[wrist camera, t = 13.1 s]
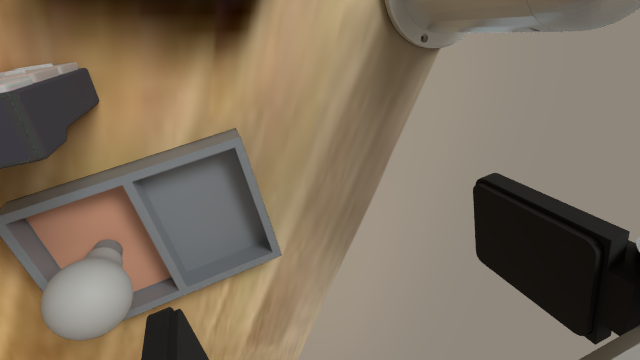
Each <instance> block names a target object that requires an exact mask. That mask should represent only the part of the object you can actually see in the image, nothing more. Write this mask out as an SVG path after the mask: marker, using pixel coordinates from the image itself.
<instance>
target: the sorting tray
mask: <svg viewBox="0 0 640 360" xmlns="http://www.w3.org/2000/svg"><path fill="white" fill-rule="evenodd" d="M0 237H1V238H2V239H3V240H4V242H5V243H6V244H7V246H8V247H9V248H10V250H11V251H12V252H13V254H14V255H15V256H16V257H17V259H18V260H19V261H20V263H21V264H22V265H23V267H24V268H25V269H26V271H27V272H28V273H29V274H30V276H31V277H32V278H33V280H34V281H35V282H36V284H37V285H38V286H39V288H40V289H41V290H42V292H43V291H44V289H45V287H46V286H47V284H48V282H49V281H50V279H51V278H52V277H53V276H54V275H55V274H56V273H58V272H59V271H60V270H61V269H63V268H64V267H65V266H67V265H69V264H72V263H74V262H77V261H79V260H83V259H84V258H85V256H86V255H87V254H88V253H89V252H90V251H92V249H93V247H94V246H95V245H96V244H97V243H98V242H99V241H101V240H105V239H111V240H115V241H117V242H118V243H120V244H121V246H122V248H123V253H122V260H123V265H122V268H123V269H124V270H125V271H126V273H127V274H128V275H129V277H130V279H131V281H132V286H133V300H132V304H131V307H130V309H129V311H128V312H127V314H126V316H125V317H124V319H123V320H126V319H128V318H130V317H133V316H135V315H138V314H140V313H143V312H145V311H147V310H150V309H152V308H155V307H157V306H160V305H162V304H164V303H167V302H169V301H172V300H174V299H177V298H179V297H182V296H184V295H186V294H189V293H191V292H194V291H196V290H199V289H201V288H203V287H206V286H208V285H211V284H213V283H216V282H218V281H220V280H223V279H225V278H228V277H230V276H233V275H235V274H238V273H240V272H242V271H245V270H247V269H250V268H252V267H255V266H257V265H259V264H262V263H264V262H267V261H269V260H272V259H274V258H277V257H279V256H281V255H282V254H281V251H280V249H279V246H278V243H277V240H276V237H275V234H274V231H273V229H272V226H271V223H270V220H269V217H268V214H267V211H266V209H265V206H264V203H263V200H262V197H261V194H260V191H259V189H258V186H257V183H256V180H255V177H254V174H253V171H252V169H251V166H250V163H249V160H248V157H247V154H246V151H245V149H244V146H243V143H242V140H241V137H240V135H239V133H238V132H237V130H236V128H235V129H232V130H228V131H225V132H222V133H219V134H216V135H213V136H210V137H207V138H204V139H201V140H198V141H194V142H191V143H188V144H185V145H182V146H179V147H176V148H173V149H170V150H167V151H164V152H160V153H157V154H154V155H151V156H148V157H145V158H142V159H139V160H136V161H133V162H130V163H126V164H123V165H120V166H117V167H114V168H111V169H108V170H105V171H102V172H99V173H96V174H92V175H89V176H86V177H83V178H80V179H77V180H74V181H71V182H68V183H65V184H62V185H58V186H55V187H52V188H49V189H46V190H43V191H40V192H37V193H34V194H31V195H28V196H24V197H21V198H18V199H15V200H12V201H9V202H7V203H5V204H4V205H3V206H2V207H1V208H0ZM123 320H122V321H123Z"/></svg>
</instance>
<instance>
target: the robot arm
mask: <svg viewBox="0 0 640 360" xmlns="http://www.w3.org/2000/svg"><path fill="white" fill-rule="evenodd" d="M385 4H386V8H387V12H388V15H389V17H390V19H391V21H392V24H393V25H394V27H395V28H396V30H397V31H398V32H399V34H400V35H402V36H403V37H404V38H405V39H406V40H407V41H409V42H411V43H412V44H414V45H416V46H420V47H423V48H442V47H446V46H449V45H452V44H454V43H455V42H457V41H459V40H460V39H461V38H463V37H464V36H465V35H466V34H468V33H483V32H484V33H486V32H489V33H490V32H563V31H586V30H592V29H597V28H601V27H604V26H607V25H610V24H612V23H615V22H617V21H619V20H621V19H623V18H625V17H627V16H628V15H630V14H631V13H633V12H635V11H636V10H638V9H639V8H640V0H385ZM473 198H474V219H475V239H476V254H477V256H478V258H479V260H480V261H481V262H482V263H484V264H485V265H486V266H487V267H489V268H490V269H491V270H493V271H494V272H495V273H496V274H498V275H499V276H500V277H502V278H503V279H504V280H506V281H507V282H508V283H510V284H511V285H512V286H514V287H515V288H516V289H517V290H519V291H520V292H521V293H523V294H524V295H525V296H526V297H528V298H529V299H531V300H532V301H533V302H534V303H536V304H537V305H538V306H540V307H541V308H542V309H544V310H545V311H546V312H547V313H549V314H550V315H551V316H553V317H554V318H555V319H557V320H558V321H559V322H560V323H562V324H563V325H564V326H566V327H567V328H568V329H570V330H571V331H572V332H574V333H575V334H577V335H579V336H585V337H586V338H587V339H589V340H590V341H591V342H592V343H594V344H597V343H599V342H601V341H602V340H604V339H606V338H608V337H609V336H611V331H613V332H614V333H616V334H617V335H619V337H618V338H616V339H614V340H613V341H611V342H609V343H607V344H606V345H604V346H602V347H600V348H598V349H597V350H595V351H593V352H592V353H590V354H588V355H586V356H584V357H583V358H581V359H579V360H640V236H639V237H638V238H637V240H636V242H635V243H634V242H631V241H629V240H628V238H629V231H627V230H625V229H622V228H620V227H618V226H616V225H613V224H611V223H609V222H607V221H604V220H602V219H600V218H598V217H595V216H593V215H591V214H588V213H586V212H584V211H582V210H579V209H577V208H575V207H573V206H570V205H568V204H566V203H563V202H561V201H559V200H557V199H554V198H552V197H550V196H548V195H545V194H543V193H541V192H539V191H536V190H534V189H532V188H530V187H527V186H525V185H523V184H521V183H518V182H516V181H514V180H511V179H509V178H507V177H505V176H502V175H500V174H498V173H492V174H490V175H488V176H485V177H483V178H480V179H478V180H477V182H476V185H475V186H474V188H473ZM141 360H209V359H208V357H207V355H206V353H205V351H204V350H203V348H202V346H201V344H200V342H199V341H198V339H197V337H196V335H195V333H194V332H193V330H192V328H191V326H190V324H189V323H188V321H187V319H186V317H185V315H184V313H183V312H182V310H181V309H178V310H175V311H174V310H173V309H172V308H171V307H168V308H166V309H163V310H161V311H159V312H156V313H154V314H151V315H149V316H148V317H147V321H146V329H145V336H144V343H143V351H142V358H141Z"/></svg>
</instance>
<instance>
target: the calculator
mask: <svg viewBox="0 0 640 360" xmlns="http://www.w3.org/2000/svg"><path fill="white" fill-rule="evenodd" d="M98 103H99V98H98V96H97V93H96V91H95V88H94V85H93V83H92V80H91V77H90V75H89V72H88V70H87V69H86V68H81V69H79V68H78V65H77V63H76V62H73V63H66V64H60V65H52V64H44V65H37V66H31V67H24V68H17V69H14V71H6V72H1V73H0V169H2V168H7V167H12V166H16V165H21V164H26V163H31V162H36V161H40V160H43V159H45V158H47V157H48V156H50V155H51V154H52V153H53V152H54V151H55V150H56V149H57V148H59V147H60V146H61V145H62V144H63V143H64V142H65V141H66V132H67V127H68V126H70V125H71V124H72V123H73V122H75V121H76V120H77V119H79V118H80V117H81V116H82V115H84V114H85V113H86V112H87V111H89V110H90V109H91V108H93V107H94V106H95V105H96V104H98Z"/></svg>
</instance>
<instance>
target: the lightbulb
mask: <svg viewBox="0 0 640 360" xmlns="http://www.w3.org/2000/svg"><path fill="white" fill-rule="evenodd" d="M122 253H123V248H122V246H121V244H120V243H118V242H117V241H115V240H111V239H105V240H101V241H99V242H98V243H97V244H96V245H95V246H94V247H93V249H92V251H90V252H89V253H88V254H87V255H86V256H85V258H84V259H83V260H79V261H77V262H74V263H72V264H69V265H67V266H65V267H64V268H63V269H61V270H60V271H59V272H58V273H56V274H55V275H54V276H53V277H52V278H51V279H50V281H49V282H48V284H47V286H46V287H45V289H44V291H43V294H42V298H41V315H42V318H43V320H44V322H45V323H46V325H47V326H48V328H49V329H50V330H51V331H52V332H54V333H55V334H57V335H59V336H61V337H63V338H66V339H70V340H88V339H93V338H96V337H99V336H101V335H103V334H105V333H107V332H109V331H111V330H112V329H113V328H115V327H116V326H117V325H118V324H119V323H120V322H121V321H122V320H123V319H124V317H125V316H126V314H127V312H128V311H129V309H130V307H131V304H132V300H133V286H132V281H131V279H130V277H129V275H128V274H127V273H126V271H125V270H124V269H123V268H122V265H123V260H122Z"/></svg>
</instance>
